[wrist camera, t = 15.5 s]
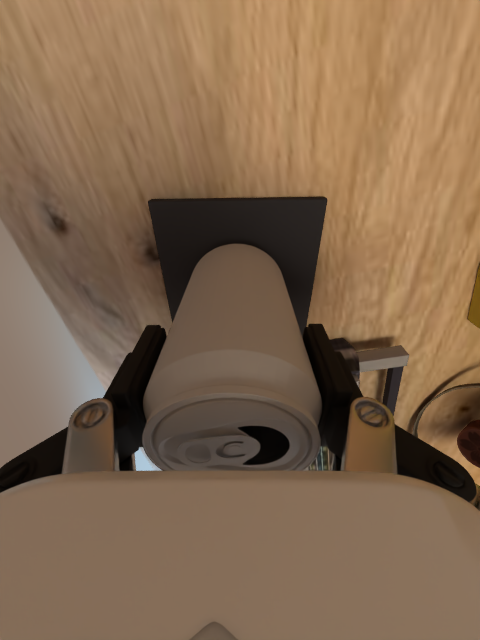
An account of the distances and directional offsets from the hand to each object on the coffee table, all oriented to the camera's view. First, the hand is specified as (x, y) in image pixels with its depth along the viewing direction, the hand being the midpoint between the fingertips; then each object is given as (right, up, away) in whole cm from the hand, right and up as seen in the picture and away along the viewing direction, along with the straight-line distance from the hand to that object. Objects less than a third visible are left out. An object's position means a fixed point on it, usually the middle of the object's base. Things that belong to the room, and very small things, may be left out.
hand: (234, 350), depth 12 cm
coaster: (0, +5, +7) cm, 8 cm away
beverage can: (0, +4, +6) cm, 7 cm away
